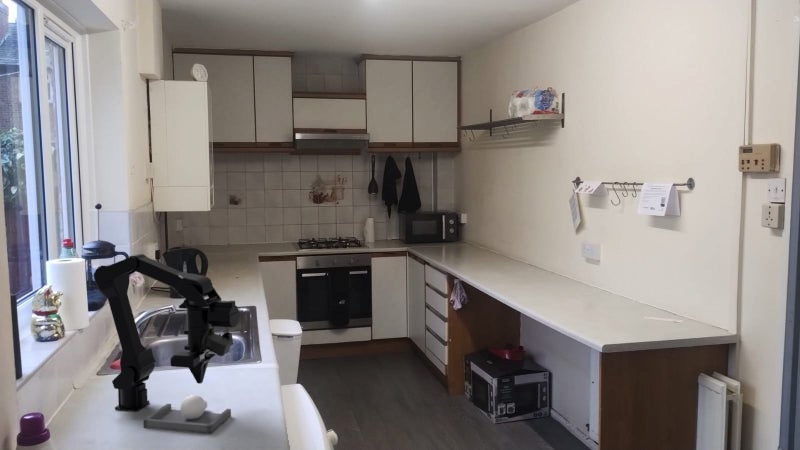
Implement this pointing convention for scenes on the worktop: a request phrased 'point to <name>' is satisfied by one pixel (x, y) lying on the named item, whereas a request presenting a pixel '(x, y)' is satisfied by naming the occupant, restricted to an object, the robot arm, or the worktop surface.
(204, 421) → the tray
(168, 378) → the worktop surface
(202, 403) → the lightbulb
